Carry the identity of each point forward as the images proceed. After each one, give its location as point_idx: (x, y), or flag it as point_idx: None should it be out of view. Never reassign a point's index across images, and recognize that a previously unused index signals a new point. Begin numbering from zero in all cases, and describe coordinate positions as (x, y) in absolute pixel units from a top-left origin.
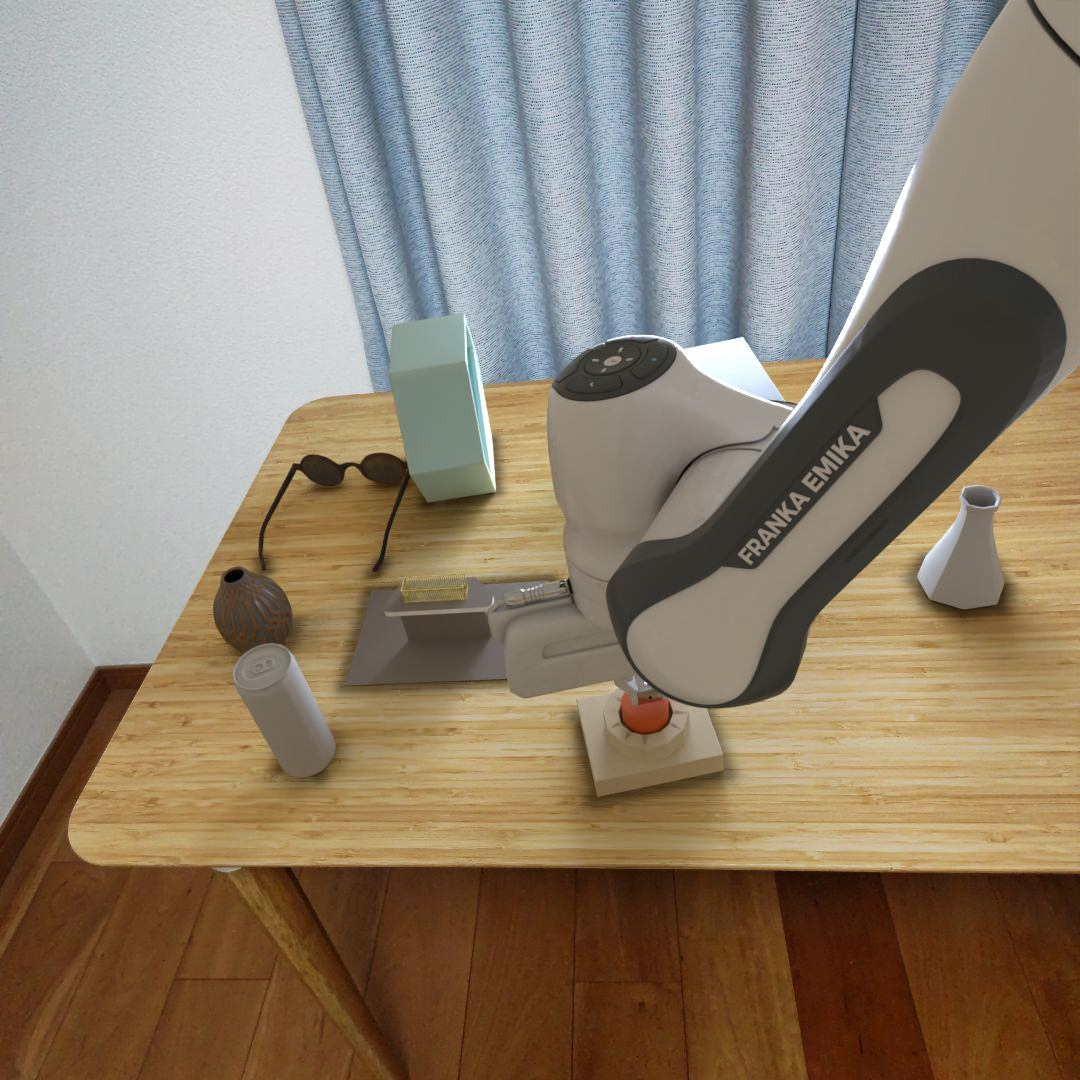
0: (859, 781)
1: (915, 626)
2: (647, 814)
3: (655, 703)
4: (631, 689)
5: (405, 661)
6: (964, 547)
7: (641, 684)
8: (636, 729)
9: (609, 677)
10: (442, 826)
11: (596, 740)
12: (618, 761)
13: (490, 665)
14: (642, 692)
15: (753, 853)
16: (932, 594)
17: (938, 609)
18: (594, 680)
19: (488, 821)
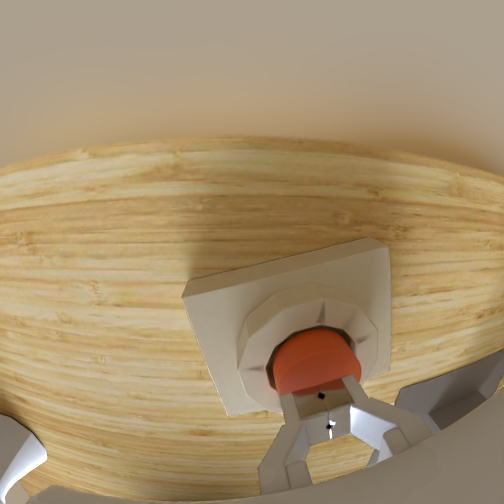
0: (35, 262)
1: (33, 416)
2: (303, 207)
3: (302, 383)
4: (372, 410)
5: (486, 373)
6: (2, 463)
7: (341, 420)
8: (333, 334)
9: (467, 433)
10: (496, 206)
11: (378, 315)
12: (354, 281)
13: (437, 388)
14: (343, 406)
15: (151, 147)
16: (28, 435)
17: (25, 423)
18: (493, 413)
19: (469, 208)
